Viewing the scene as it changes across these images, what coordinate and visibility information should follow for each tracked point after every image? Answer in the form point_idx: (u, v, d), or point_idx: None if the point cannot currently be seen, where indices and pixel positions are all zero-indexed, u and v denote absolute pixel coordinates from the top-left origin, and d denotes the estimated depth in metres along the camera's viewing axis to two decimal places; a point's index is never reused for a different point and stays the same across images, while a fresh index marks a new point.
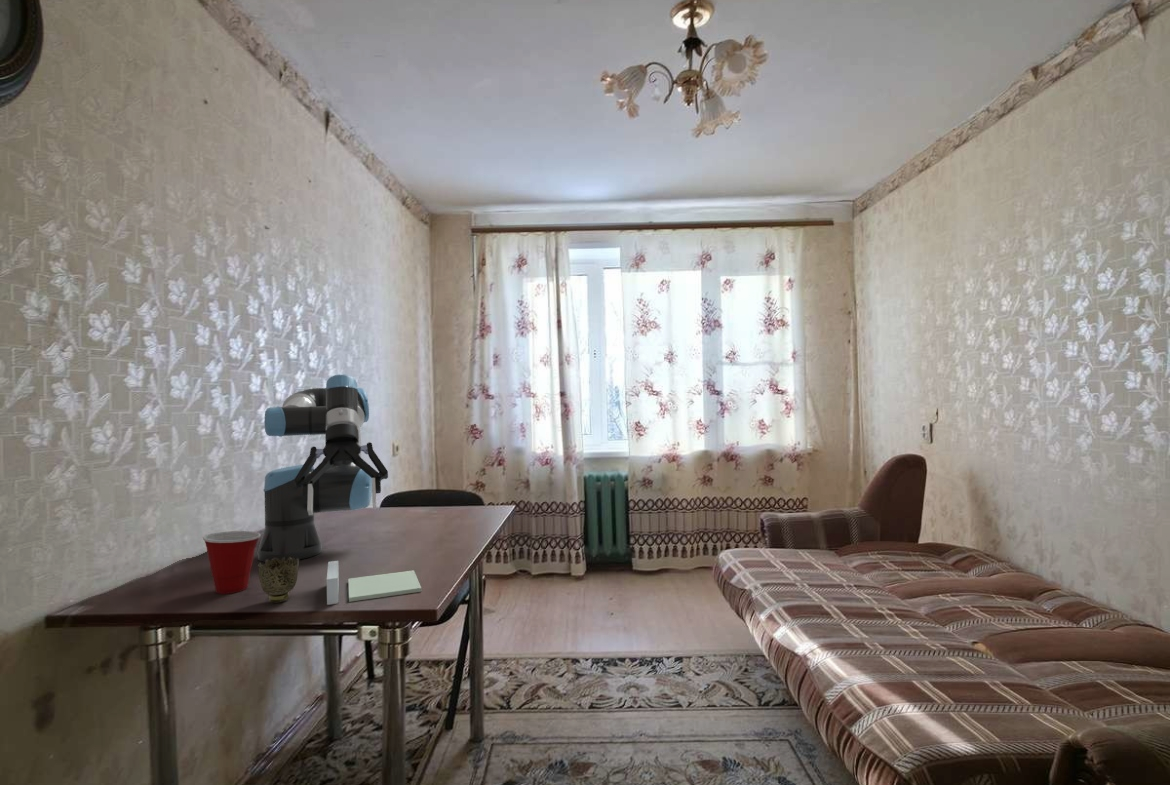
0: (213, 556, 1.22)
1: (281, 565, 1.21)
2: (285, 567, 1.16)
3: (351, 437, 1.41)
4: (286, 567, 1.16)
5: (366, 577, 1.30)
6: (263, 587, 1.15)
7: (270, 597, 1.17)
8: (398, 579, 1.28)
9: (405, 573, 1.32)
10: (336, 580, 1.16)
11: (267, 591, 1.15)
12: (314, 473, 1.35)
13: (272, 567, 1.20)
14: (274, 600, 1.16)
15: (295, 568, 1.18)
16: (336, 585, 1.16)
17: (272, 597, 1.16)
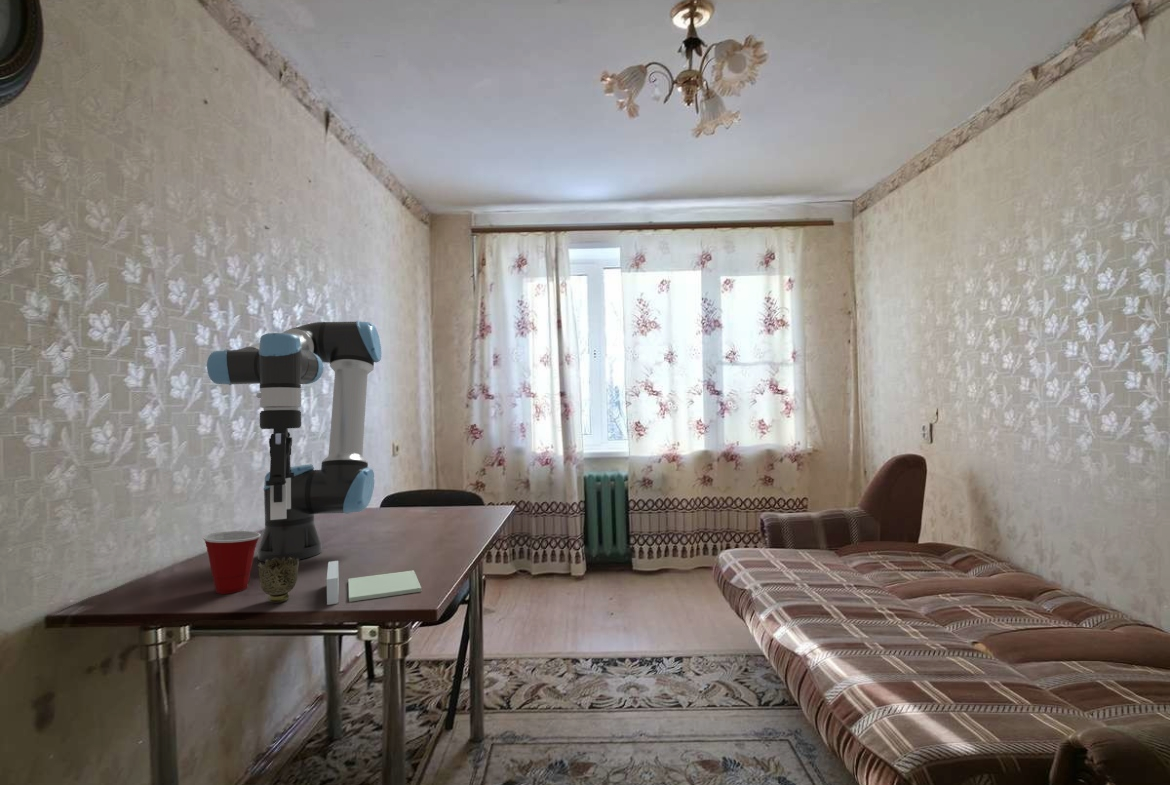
0: (213, 556, 1.22)
1: (281, 565, 1.21)
2: (285, 567, 1.16)
3: (266, 428, 1.16)
4: (286, 567, 1.16)
5: (366, 577, 1.30)
6: (263, 587, 1.15)
7: (270, 597, 1.17)
8: (398, 579, 1.28)
9: (405, 573, 1.32)
10: (336, 580, 1.16)
11: (267, 591, 1.15)
12: None
13: (272, 567, 1.20)
14: (274, 600, 1.16)
15: (295, 568, 1.18)
16: (336, 585, 1.16)
17: (272, 597, 1.16)
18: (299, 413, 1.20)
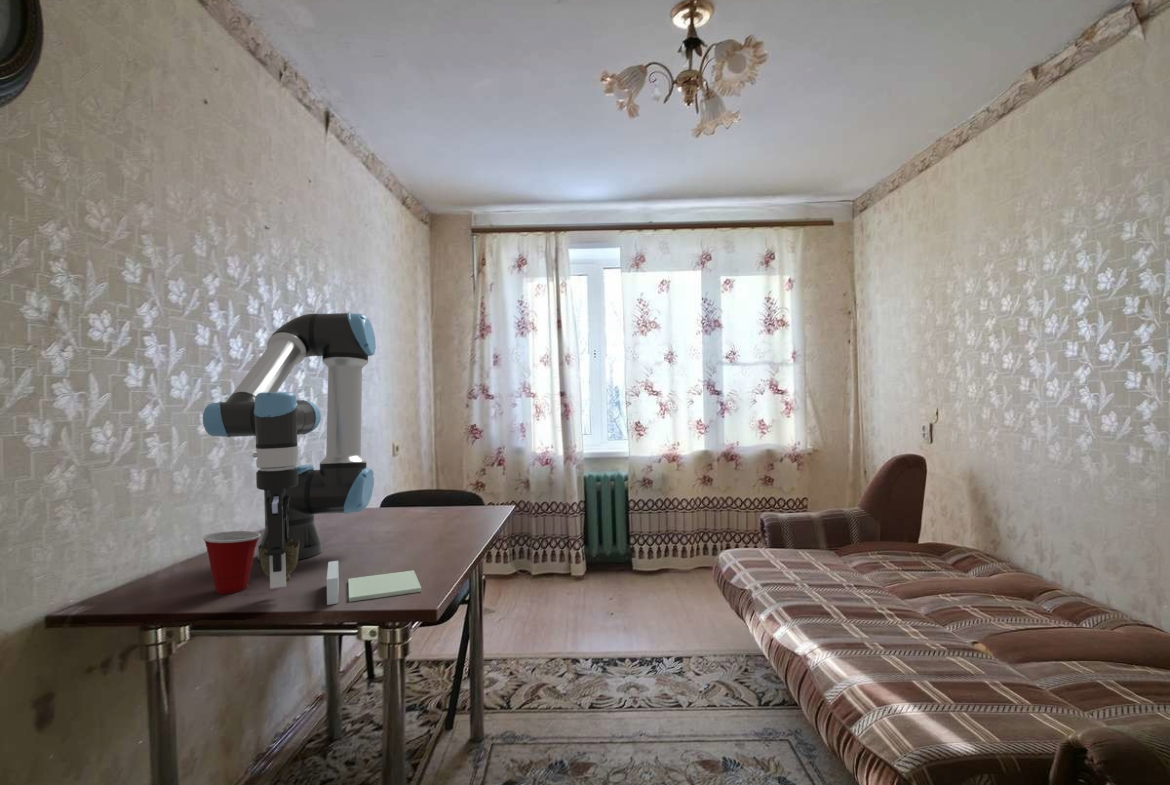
0: (213, 556, 1.22)
1: None
2: (286, 548, 1.16)
3: (262, 489, 1.15)
4: (287, 549, 1.16)
5: (366, 577, 1.30)
6: (264, 568, 1.16)
7: None
8: (398, 579, 1.28)
9: (405, 573, 1.32)
10: (336, 580, 1.16)
11: (268, 572, 1.16)
12: None
13: None
14: None
15: (296, 550, 1.18)
16: (336, 585, 1.16)
17: None
18: (296, 472, 1.19)
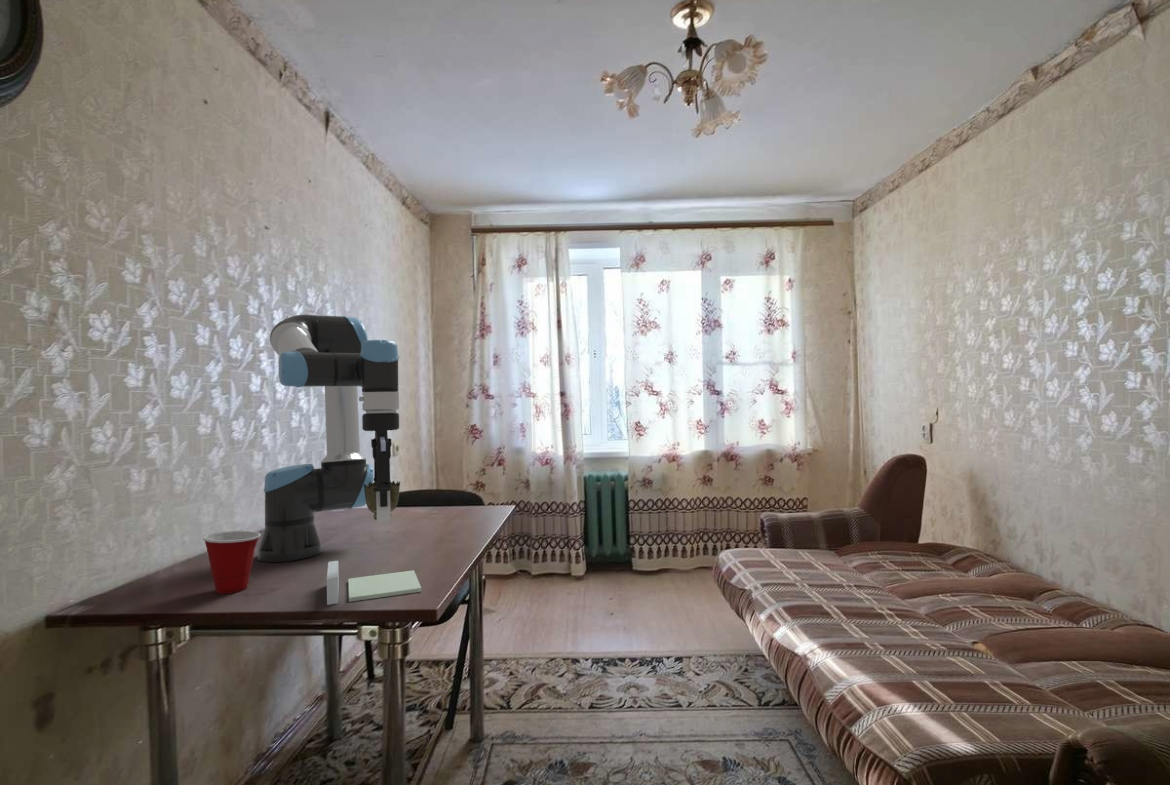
0: (213, 556, 1.22)
1: None
2: None
3: (369, 430, 1.23)
4: (391, 486, 1.23)
5: (366, 577, 1.30)
6: (370, 505, 1.23)
7: (375, 515, 1.24)
8: (398, 579, 1.28)
9: (405, 573, 1.32)
10: (336, 580, 1.16)
11: (373, 509, 1.23)
12: (374, 472, 1.29)
13: None
14: None
15: (398, 489, 1.25)
16: (336, 585, 1.16)
17: None
18: (398, 416, 1.26)
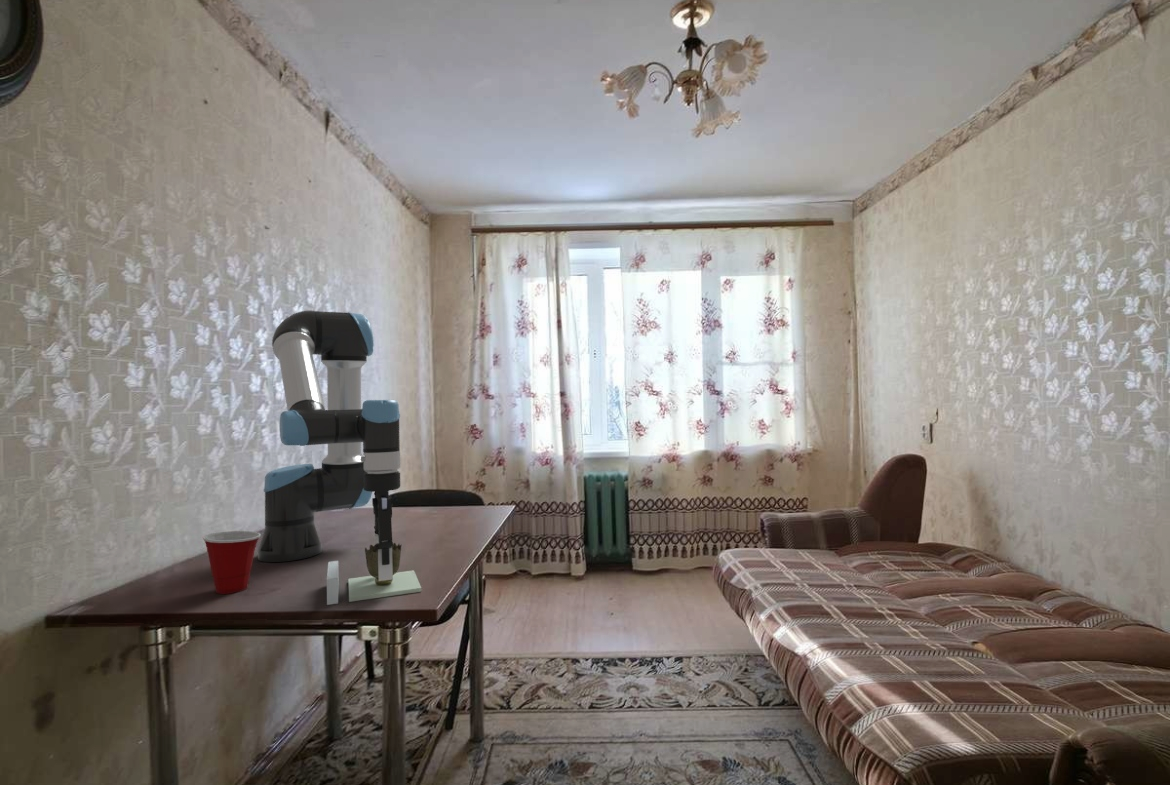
0: (213, 556, 1.22)
1: None
2: (392, 551, 1.23)
3: (370, 491, 1.23)
4: (392, 551, 1.23)
5: (366, 577, 1.30)
6: (371, 570, 1.22)
7: (376, 580, 1.24)
8: (398, 579, 1.28)
9: (405, 573, 1.32)
10: (336, 580, 1.16)
11: (375, 574, 1.22)
12: (375, 524, 1.30)
13: (375, 552, 1.28)
14: (380, 583, 1.23)
15: (399, 553, 1.25)
16: (336, 585, 1.16)
17: (378, 580, 1.23)
18: (399, 475, 1.26)
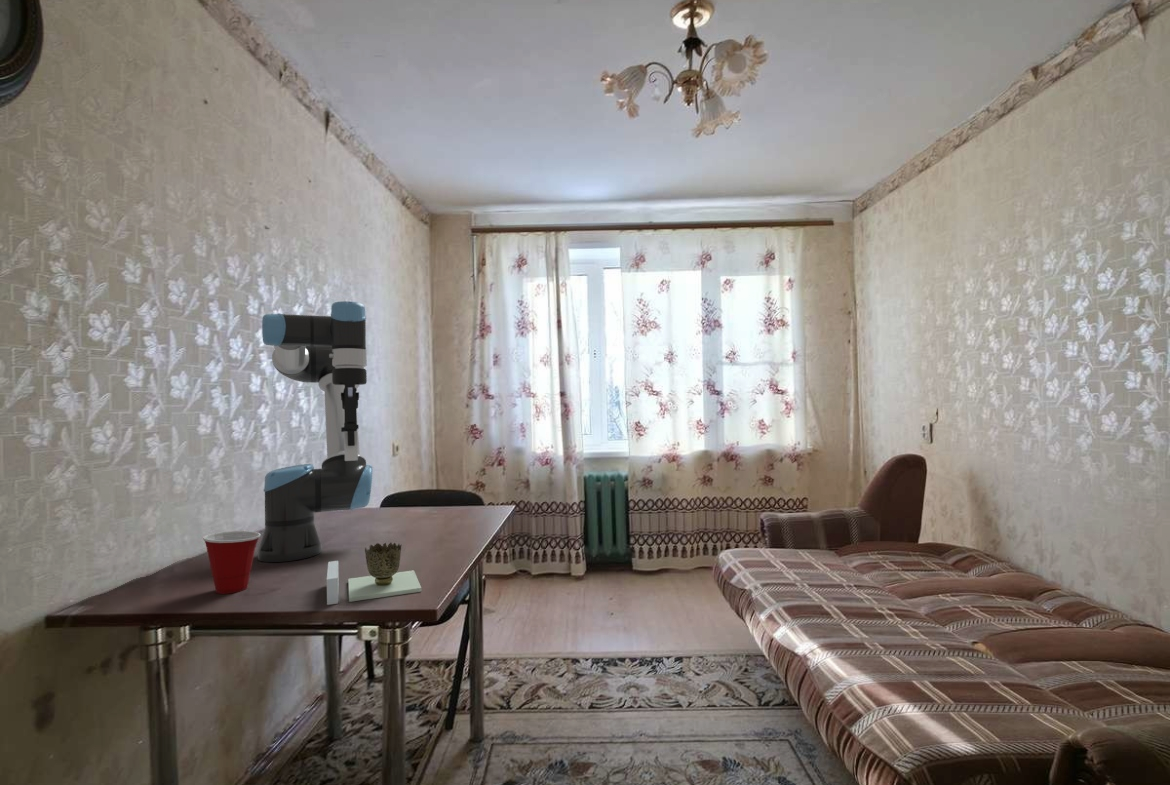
0: (213, 556, 1.22)
1: (383, 550, 1.28)
2: (392, 551, 1.23)
3: (338, 383, 1.35)
4: (392, 551, 1.23)
5: (366, 577, 1.30)
6: (371, 570, 1.22)
7: (376, 580, 1.24)
8: (398, 579, 1.28)
9: (405, 573, 1.32)
10: (336, 580, 1.16)
11: (375, 574, 1.22)
12: None
13: (375, 552, 1.28)
14: (380, 583, 1.23)
15: (399, 553, 1.25)
16: (336, 585, 1.16)
17: (378, 580, 1.23)
18: (365, 371, 1.38)
